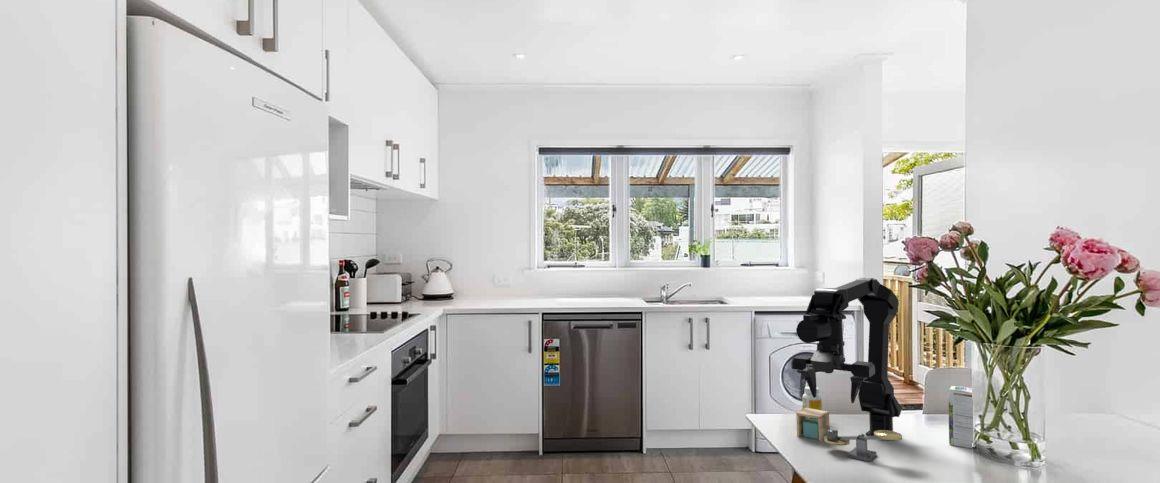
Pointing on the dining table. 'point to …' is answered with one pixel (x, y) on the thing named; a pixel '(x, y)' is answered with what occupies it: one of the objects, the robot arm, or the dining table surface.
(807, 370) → the robot arm
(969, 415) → the syrup box
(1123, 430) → the dining table surface
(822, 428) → the cover
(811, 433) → the block
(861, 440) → the balance
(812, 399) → the supplement bottle
